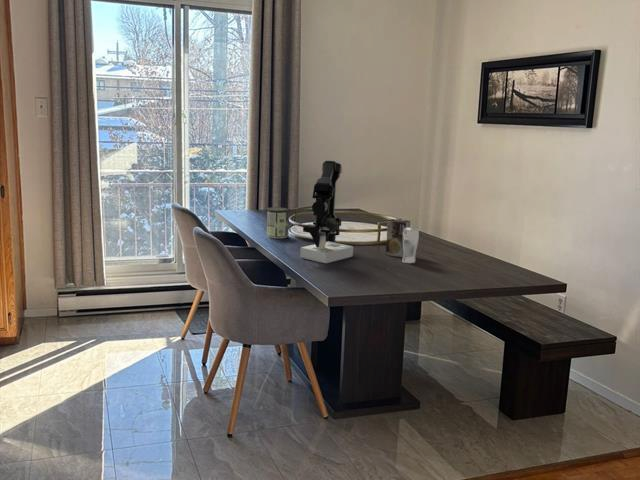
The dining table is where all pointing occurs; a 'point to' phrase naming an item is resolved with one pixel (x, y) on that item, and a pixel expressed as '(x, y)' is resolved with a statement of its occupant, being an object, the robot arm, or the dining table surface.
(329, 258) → the port box
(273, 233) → the coffee can
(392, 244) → the coffee box
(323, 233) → the plug
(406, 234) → the beer glass
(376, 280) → the dining table surface
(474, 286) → the dining table surface
